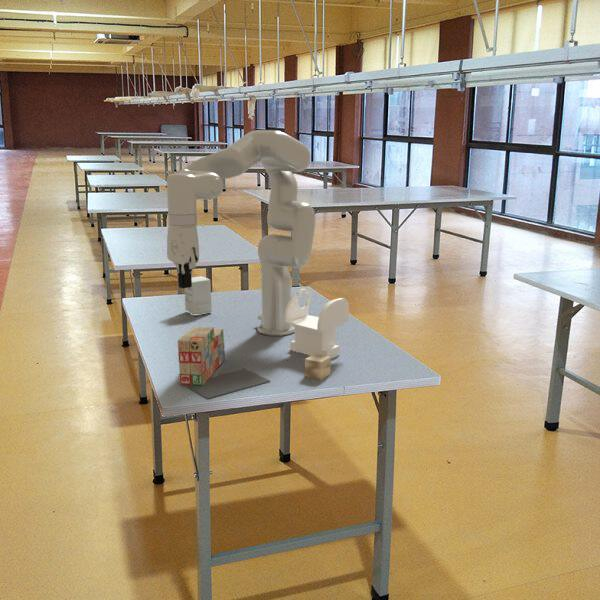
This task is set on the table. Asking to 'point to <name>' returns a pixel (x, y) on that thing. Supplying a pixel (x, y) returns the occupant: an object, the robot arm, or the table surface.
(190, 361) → the stack of blocks
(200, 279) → the supplement box
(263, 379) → the rubber mat
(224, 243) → the table surface
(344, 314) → the white plastic bracket
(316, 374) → the beech block
